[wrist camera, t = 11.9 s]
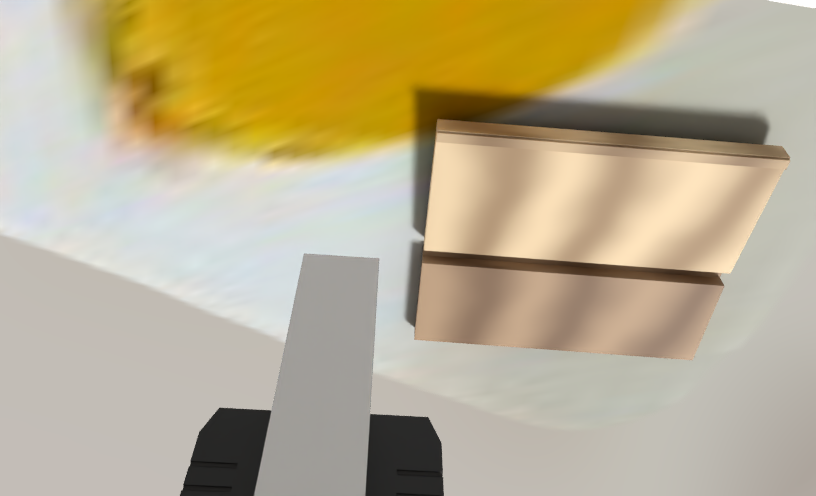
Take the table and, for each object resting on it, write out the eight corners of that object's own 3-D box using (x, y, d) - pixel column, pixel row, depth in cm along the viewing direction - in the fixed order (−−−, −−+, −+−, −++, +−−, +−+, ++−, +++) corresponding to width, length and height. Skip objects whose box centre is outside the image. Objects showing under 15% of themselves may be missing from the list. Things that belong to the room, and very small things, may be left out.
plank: (424, 238, 45) (423, 251, 44) (437, 118, 39) (437, 131, 38) (724, 261, 46) (730, 275, 45) (782, 146, 40) (791, 159, 39)
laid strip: (414, 328, 50) (414, 339, 49) (423, 244, 46) (423, 254, 45) (687, 348, 50) (692, 360, 49) (721, 266, 46) (727, 277, 45)
